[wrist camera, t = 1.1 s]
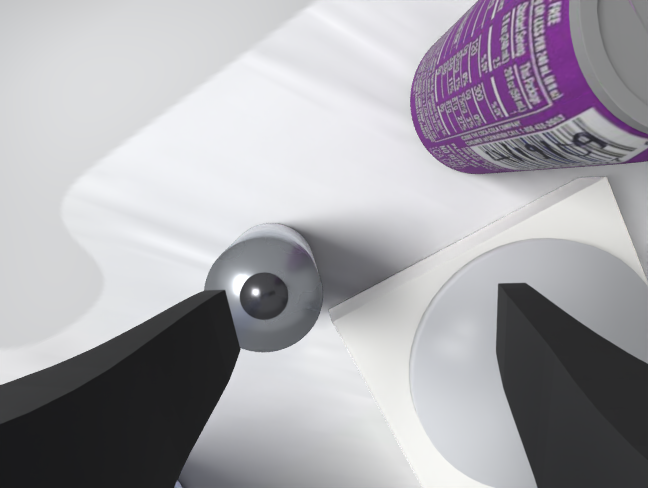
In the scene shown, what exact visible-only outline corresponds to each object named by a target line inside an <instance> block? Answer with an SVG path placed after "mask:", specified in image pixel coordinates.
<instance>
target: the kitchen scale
mask: <svg viewBox="0 0 648 488" xmlns="http://www.w3.org/2000/svg"><path fill="white" fill-rule="evenodd" d="M498 283H527V284H528V285H530V286H531V287H532V288H534V289H535V290H537V291H538V292H539V293H541V294H542V295H543V296H545V297H546V298H547V299H549V300H550V301H551V302H553V303H554V304H555V305H557V306H558V307H560V308H561V309H562V310H564V311H565V312H566V313H568V314H569V315H571V316H572V317H574V318H575V319H576V320H578V321H579V322H581V323H582V324H584V325H585V326H587V327H588V328H590V329H591V330H593V331H594V332H596V333H597V334H599V335H600V336H602V337H603V338H605V339H607V340H608V341H610V342H612V343H613V344H615V345H616V346H618V347H620V348H621V349H623V350H624V351H626V352H628V353H630V354H631V355H633V356H635V357H637V358H638V359H640V360H642V361H644V362H646V363H647V364H648V281H647V279H646V276H645V274H644V271H643V268H642V266H641V263H640V261H639V258H638V256H637V253H636V251H635V248H634V245H633V243H632V240H631V238H630V235H629V233H628V230H627V228H626V225H625V223H624V220H623V217H622V215H621V212H620V210H619V207H618V205H617V202H616V200H615V197H614V194H613V192H612V189H611V187H610V184H609V182H608V179H607V177H584V178H577V179H575V180H573V181H571V182H569V183H567V184H565V185H563V186H562V187H560V188H558V189H556V190H554V191H552V192H550V193H548V194H546V195H545V196H543V197H541V198H539V199H537V200H535V201H533V202H531V203H529V204H528V205H526V206H524V207H522V208H520V209H518V210H516V211H514V212H512V213H510V214H509V215H507V216H505V217H503V218H501V219H499V220H497V221H495V222H493V223H492V224H490V225H488V226H486V227H484V228H482V229H480V230H478V231H476V232H475V233H473V234H471V235H469V236H467V237H465V238H463V239H461V240H459V241H458V242H456V243H454V244H452V245H450V246H448V247H446V248H444V249H442V250H441V251H439V252H437V253H435V254H433V255H431V256H429V257H427V258H425V259H424V260H422V261H420V262H418V263H416V264H414V265H412V266H410V267H408V268H406V269H405V270H403V271H401V272H399V273H397V274H395V275H393V276H391V277H389V278H388V279H386V280H384V281H382V282H380V283H378V284H376V285H374V286H372V287H371V288H369V289H367V290H365V291H363V292H361V293H359V294H357V295H355V296H354V297H352V298H350V299H348V300H346V301H344V302H342V303H340V304H338V305H337V306H335V307H333V308H331V309H329V313H330V316H331V320H332V323H333V324H334V326H335V328H336V330H337V332H338V334H339V335H340V337H341V339H342V341H343V343H344V345H345V347H346V348H347V350H348V352H349V354H350V356H351V358H352V359H353V361H354V363H355V365H356V367H357V369H358V371H359V372H360V374H361V376H362V378H363V380H364V382H365V383H366V385H367V387H368V389H369V391H370V393H371V395H372V396H373V398H374V400H375V402H376V404H377V406H378V407H379V409H380V411H381V413H382V415H383V417H384V419H385V420H386V422H387V424H388V426H389V428H390V430H391V431H392V433H393V435H394V437H395V439H396V441H397V443H398V444H399V446H400V448H401V450H402V452H403V454H404V455H405V457H406V459H407V461H408V463H409V465H410V467H411V468H412V470H413V472H414V474H415V476H416V478H417V479H418V481H419V483H420V485H421V487H422V488H537V485H536V482H535V478H534V475H533V472H532V470H531V467H530V464H529V461H528V458H527V455H526V453H525V450H524V447H523V444H522V441H521V438H520V436H519V433H518V430H517V427H516V424H515V421H514V419H513V416H512V413H511V410H510V407H509V404H508V401H507V398H506V395H505V392H504V389H503V385H502V380H501V376H500V371H499V366H498V361H497V356H496V329H497V299H498Z"/></svg>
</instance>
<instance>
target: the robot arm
mask: <svg viewBox="0 0 648 488" xmlns="http://www.w3.org/2000/svg"><path fill="white" fill-rule="evenodd" d="M239 352H240V346H239V342H238V338H237V334H236V330H235V326H234V322H233V318H232V314H231V310H230V306H229V303H228V299H227V295H226V291H225V290H205V291H203V292H200V293H198V294H196V295H193V296H191V297H189V298H187V299H185V300H184V301H182V302H180V303H178V304H176V305H174V306H172V307H171V308H169V309H167V310H165V311H163V312H162V313H160V314H158V315H156V316H154V317H153V318H151V319H149V320H147V321H145V322H144V323H142V324H140V325H138V326H136V327H134V328H132V329H130V330H128V331H126V332H125V333H123V334H121V335H119V336H117V337H115V338H113V339H111V340H109V341H107V342H105V343H103V344H101V345H99V346H97V347H95V348H93V349H91V350H89V351H86V352H84V353H82V354H80V355H77V356H75V357H73V358H71V359H68V360H66V361H64V362H61V363H59V364H56V365H54V366H52V367H49V368H46V369H44V370H41V371H38V372H35V373H33V374H30V375H27V376H25V377H22V378H19V379H16V380H14V381H11V382H8V383H5V384H3V385H0V488H182V486H181V485H180V483H179V482H178V477H179V475H180V473H181V470H182V468H183V466H184V464H185V462H186V460H187V458H188V456H189V454H190V452H191V450H192V448H193V446H194V445H195V443H196V441H197V439H198V437H199V436H200V434H201V432H202V430H203V428H204V426H205V425H206V423H207V421H208V419H209V417H210V415H211V414H212V412H213V410H214V408H215V406H216V405H217V403H218V401H219V399H220V397H221V395H222V393H223V391H224V390H225V388H226V386H227V384H228V382H229V380H230V377H231V374H232V372H233V369H234V367H235V364H236V361H237V358H238V355H239ZM496 356H497V361H498V366H499V371H500V376H501V380H502V385H503V389H504V392H505V395H506V398H507V401H508V404H509V407H510V410H511V413H512V416H513V419H514V421H515V424H516V427H517V430H518V433H519V436H520V438H521V441H522V444H523V447H524V450H525V453H526V455H527V458H528V461H529V464H530V467H531V470H532V472H533V475H534V478H535V482H536V485H537V488H648V364H647V363H646V362H644V361H642V360H640V359H638V358H637V357H635V356H633V355H631V354H630V353H628V352H626V351H624V350H623V349H621V348H620V347H618V346H616V345H615V344H613V343H612V342H610V341H608V340H607V339H605V338H603V337H602V336H600V335H599V334H597V333H596V332H594V331H593V330H591V329H590V328H588V327H587V326H585V325H584V324H582V323H581V322H579V321H578V320H576V319H575V318H574V317H572V316H571V315H569V314H568V313H566V312H565V311H564V310H562V309H561V308H560V307H558V306H557V305H555V304H554V303H553V302H551V301H550V300H549V299H547V298H546V297H545V296H543V295H542V294H541V293H539V292H538V291H537V290H535V289H534V288H532V287H531V286H530V285H528V284H527V283H498V299H497V329H496Z"/></svg>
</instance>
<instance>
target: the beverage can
mask: <svg viewBox="0 0 648 488" xmlns="http://www.w3.org/2000/svg"><path fill="white" fill-rule="evenodd" d="M410 107H411V115H412V120H413V124H414V127H415V130H416V132H417V134H418V136H419V138H420V140H421V142H422V143H423V145H424V146H425V148H426V149H427V150H428V151H429V152H430V153H431V154H432V155H433V156H434V157H435V158H436V159H437V160H438V161H440V162H441V163H443V164H444V165H446V166H448V167H450V168H452V169H454V170H457V171H460V172H464V173H471V174H486V173H500V172H514V171H528V170H542V169H557V168H571V167H585V166H599V165H613V164H626V163H636V162H644V161H648V0H478V1H477V2H476V3H475V4H474V5H473V6H472V7H471V8H470V9H469V10H468V11H467V12H466V13H465V14H464V15H463V16H462V17H461V18H460V19H459V20H458V21H457V22H456V23H455V24H454V25H453V26H452V27H451V28H450V29H449V30H448V31H447V32H446V33H445V34H444V35H443V36H442V37H441V38H440V39H439V40H438V41H437V42H436V43H435V44H434V45H433V46H432V47H431V48H430V49H429V50H428V52H427V53H426V54H425V56H424V57H423V59H422V60H421V62H420V64H419V66H418V68H417V71H416V73H415V76H414V79H413V83H412V88H411V97H410Z"/></svg>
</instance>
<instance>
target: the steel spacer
mask: <svg viewBox="0 0 648 488" xmlns="http://www.w3.org/2000/svg"><path fill="white" fill-rule="evenodd" d="M205 290H225V291H226V295H227V299H228V303H229V306H230V310H231V314H232V318H233V322H234V326H235V330H236V334H237V338H238V342H239V346H240V348H242V349H245V350H249V351H254V352H273V351H278V350H281V349H285V348H287V347H289V346H291V345H293V344H295V343H296V342H298V341H299V340H301V339H302V338H303V337H304V336H305V335H306V334H307V333H308V332H309V331H310V330H311V328H312V327H313V326H314V324H315V322H316V321H317V319H318V316H319V314H320V311H321V307H322V301H323V289H322V282H321V279H320V276H319V273H318V269H317V266H316V263H315V260H314V257H313V254H312V250H311V248H310V246H309V244H308V243H307V241H306V240H305V239H304V237H303V236H302V235H300V234H299V233H298V232H297V231H295V230H294V229H292V228H290V227H288V226H285V225H282V224H276V223H266V224H261V225H257V226H255V227H252V228H250V229H249V230H247V231H246V232H244V233H243V234H242V235H241V236H240V237H239V238H238V239H237V240H236V241H235V242H234V243H233V244H232V245H231V246H230V247H229V248H228V249H226V250H225V251H224V252H223V253H222V254H221V255H220V257H219V258H218V259H217V260H216V261H215V263H214V264H213V265H212V267H211V269H210V271H209V273H208V276H207V279H206V283H205V288H204V291H205Z"/></svg>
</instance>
